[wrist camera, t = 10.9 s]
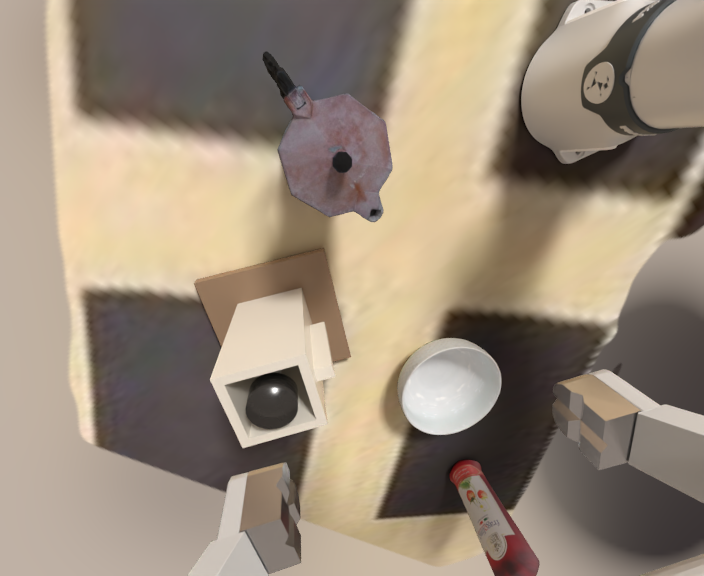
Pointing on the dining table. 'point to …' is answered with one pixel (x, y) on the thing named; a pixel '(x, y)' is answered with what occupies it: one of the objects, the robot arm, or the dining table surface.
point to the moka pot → (332, 150)
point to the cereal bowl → (448, 386)
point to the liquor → (493, 523)
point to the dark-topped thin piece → (272, 400)
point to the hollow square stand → (275, 336)
